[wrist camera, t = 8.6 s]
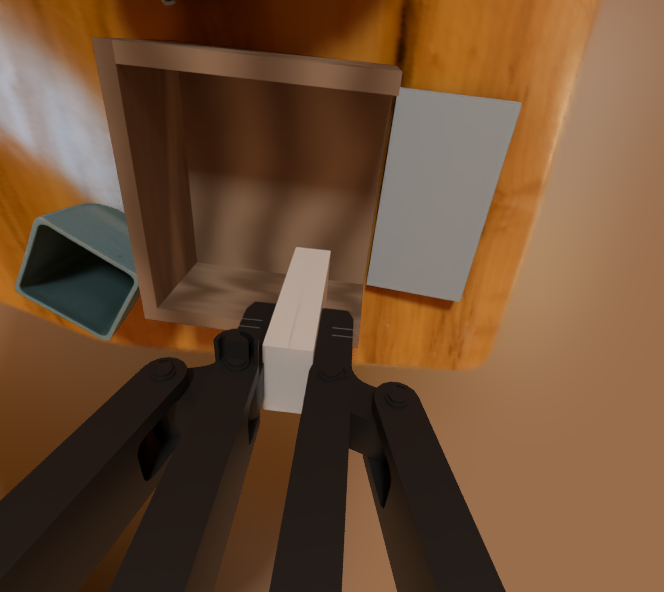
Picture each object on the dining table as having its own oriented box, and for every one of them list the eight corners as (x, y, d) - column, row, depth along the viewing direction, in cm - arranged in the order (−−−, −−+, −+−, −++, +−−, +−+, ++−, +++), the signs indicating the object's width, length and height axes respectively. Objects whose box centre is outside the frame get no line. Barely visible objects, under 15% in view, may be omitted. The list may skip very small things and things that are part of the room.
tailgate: (366, 284, 39) (459, 302, 38) (398, 88, 30) (522, 103, 29) (368, 278, 40) (459, 295, 39) (399, 87, 31) (519, 101, 30)
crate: (190, 266, 42) (145, 318, 34) (166, 39, 31) (91, 37, 23) (362, 289, 41) (357, 348, 33) (396, 65, 31) (402, 72, 23)
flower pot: (154, 293, 44) (107, 344, 37) (78, 247, 42) (11, 291, 35) (187, 235, 40) (142, 279, 32) (104, 181, 38) (35, 214, 30)
